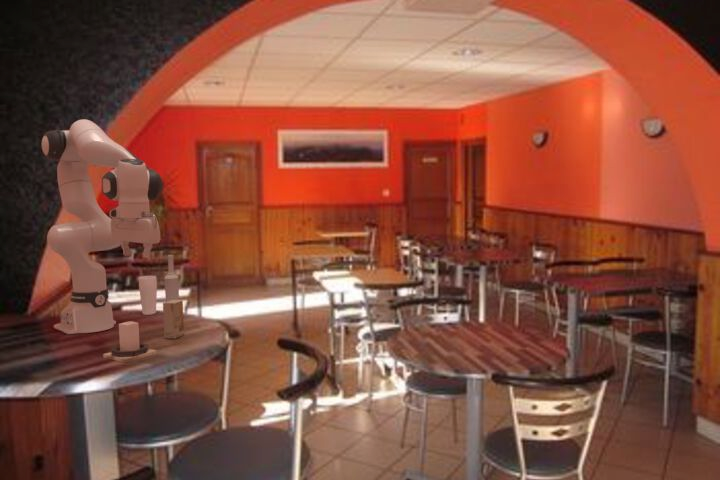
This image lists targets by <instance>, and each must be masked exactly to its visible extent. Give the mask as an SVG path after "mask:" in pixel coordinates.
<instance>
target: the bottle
mask: <svg viewBox="0 0 720 480" xmlns="http://www.w3.org/2000/svg"><path fill="white" fill-rule="evenodd" d="M174 266H175V265H174V254H168V255H167V267H168V268H167V269H168V270H167V271H168V273H167V275H165V277H164V279H163V280H164V291H165V293H164V295H165V302H167V301H170V300H180V291H179V290H180V288H179V287H180V285H179V280H180V279H179V278H180V277H179V276H178V275H177V274H176V273H175V268H174Z"/></svg>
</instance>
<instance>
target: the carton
mask: <svg viewBox="0 0 720 480" xmlns="http://www.w3.org/2000/svg"><path fill="white" fill-rule="evenodd" d="M139 326H140V324H139V322H137V321H132V320H130V321H125V322H121V323H118V333H119V335H118V336H119V345H120V351H134V350H138V349H140V344H139V343H140V330H139Z"/></svg>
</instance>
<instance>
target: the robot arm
mask: <svg viewBox="0 0 720 480" xmlns="http://www.w3.org/2000/svg"><path fill="white" fill-rule="evenodd" d="M41 149H42V152H43V155H44V156H45V157H46V159H48V160H50V161H55V162H58V164H57V171H56V172H57V183H58V184H57V185H58V190H59V195H60V199H61V204H62V207H63V209H64V211H66V212H67V213H68V214H70V215H72V216H74V217H77V218H78V219H79V220H80V221H69V222H67V221H66V222H64V223H58V224H53V225H52V226H51V227H50V229H49V230H48V232H47V235H46V241H47V245H48V246H49V249H51V250H52V251H53V252H54V253H56V254H58V255H59V256H60V257H61V258H63V260H65V262H66V263H67V266H68V267H69V270H70V274H71V279H72V281H71V282H72V291H71V292H69V296H70V302H69V303H68V304H67V305H66V306H65V307H64V308H63V309H62V310H61V311H60V314H59V318H60V322H58V323H56V324H53V328H54V329H55V330H57V331H61V332H62V333H65V334H66V335H75V334H89V333H97V332H102V331H106V330H110V329H112V328H114V327H115V326H114V325H116V324H117V321H116V320H114V315H113V308H112V303H111V302H110V301H109V289H108V288H107V287H108V286H107V271H106V268H105V266H104V265H102V264H101V263H100V262H97V261H94V260H91V258H90V255H89V253H91V252H100V251H102V252H103V251H109V250H112V249H116V248H120V247H121V249H122V250H123V251H122V252H123V256H125V257H127V256H132V250H131V249H130V246H129V244H130V243H137V244H143V245H142V246H143V251H141V257H142V258H144V259H150V257H151V250H152V249H153V248H152V247H153V245H154V244H160V242H161V230H160V225H159V221H158V218H157V216H156V215H155V213H153V212H151V210H150V208H151V207H150V201H151V202H152V201H156V199H157V198H158V197H159V196H160V195H161V193H162V192H163V190H164V182H163V179H162V177H161V175H160V174H159V173H158V172H157V171H156V170H154V169H152V168H150V167H148V166H147V165H146V163H145V162H144V161H143V160H141V159H140V158H138V157H137V156H136V155H135V154H134V153H133V152H132V151H130V150H129V149H128V148H126V147H124V146H122V145H120V144H119V143H117V142H116V141H114V140H113V139H112V138H110V137H109V136H108V135H107V134H106V133H105V131H104V130H103V129H102V128H101V127H100V126H99V125H98V124H96V123H95V122H93V121H92V120H89V119H86V118H84V119H78V120H76V121H75V122H73V123H72V124H71V125H70V128H69V129H68V130H67V129H65V130H61V129H54V130H48V131H47V132H45V133H44V134H43V136H42V139H41ZM90 165H91V166H94V167H102V168H103V167H105V168H113V169H112V170H108V171H107V172H106V173H105V174H104V175H103V176H102V178H101V192H102V194H103V195H104V196H105V197H106V198H107V199H109V200H111V201H118V205H117V206H116V207H114V208H112V209H111V210H110V211H109V216H108V215H107V214H106V213H105V212H104V211H103V210H102V208H101V207H100V205H99V204H98V201H97V198H96V194H95V191H94V187H93V183H92V179H91V176H90V171H89V166H90Z"/></svg>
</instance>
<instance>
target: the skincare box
mask: <svg viewBox="0 0 720 480" xmlns="http://www.w3.org/2000/svg"><path fill="white" fill-rule="evenodd" d="M183 302H184V301H183V300H182V299H179V300H170V301H167V302H166V301H165V302H162V312H163V317H162V318H163V338H164V339H175V340H176V339H178V338H179V337H181V336H184V335H185V331H184V330H185V328H184V327H185V326H184V303H183ZM183 334H184V335H183Z"/></svg>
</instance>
